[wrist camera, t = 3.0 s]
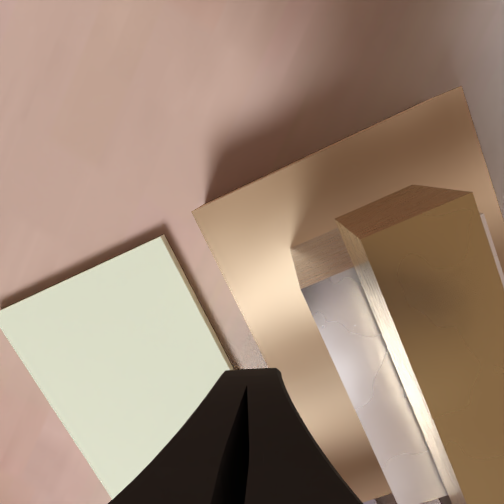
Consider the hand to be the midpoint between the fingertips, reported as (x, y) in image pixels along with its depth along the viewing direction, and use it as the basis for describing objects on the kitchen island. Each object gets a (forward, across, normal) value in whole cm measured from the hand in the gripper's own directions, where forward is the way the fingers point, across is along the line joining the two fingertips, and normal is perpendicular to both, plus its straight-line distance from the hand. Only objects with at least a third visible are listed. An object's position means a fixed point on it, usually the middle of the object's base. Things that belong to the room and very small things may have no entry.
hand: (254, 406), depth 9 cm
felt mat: (+10, +7, +6) cm, 13 cm away
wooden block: (+1, -6, +3) cm, 7 cm away
